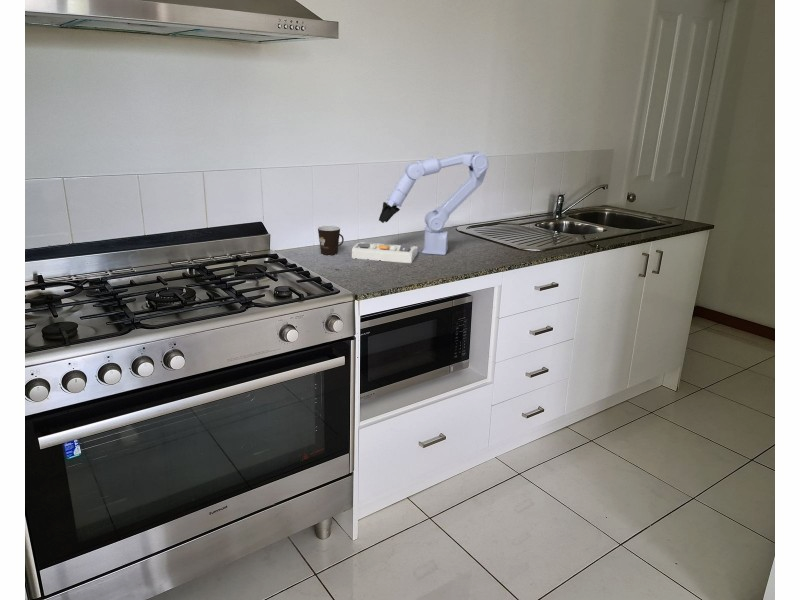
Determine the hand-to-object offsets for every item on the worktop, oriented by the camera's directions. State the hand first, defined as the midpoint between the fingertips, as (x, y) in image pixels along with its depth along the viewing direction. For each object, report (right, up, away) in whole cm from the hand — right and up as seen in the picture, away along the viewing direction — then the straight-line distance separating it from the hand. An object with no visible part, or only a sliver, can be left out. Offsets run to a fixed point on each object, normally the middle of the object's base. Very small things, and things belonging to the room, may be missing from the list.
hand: (382, 221), depth 225 cm
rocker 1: (-7, -11, -4) cm, 13 cm away
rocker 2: (+9, -12, -6) cm, 16 cm away
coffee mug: (-20, -13, -1) cm, 24 cm away
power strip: (+1, -14, -1) cm, 14 cm away
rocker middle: (+1, -12, -5) cm, 13 cm away
